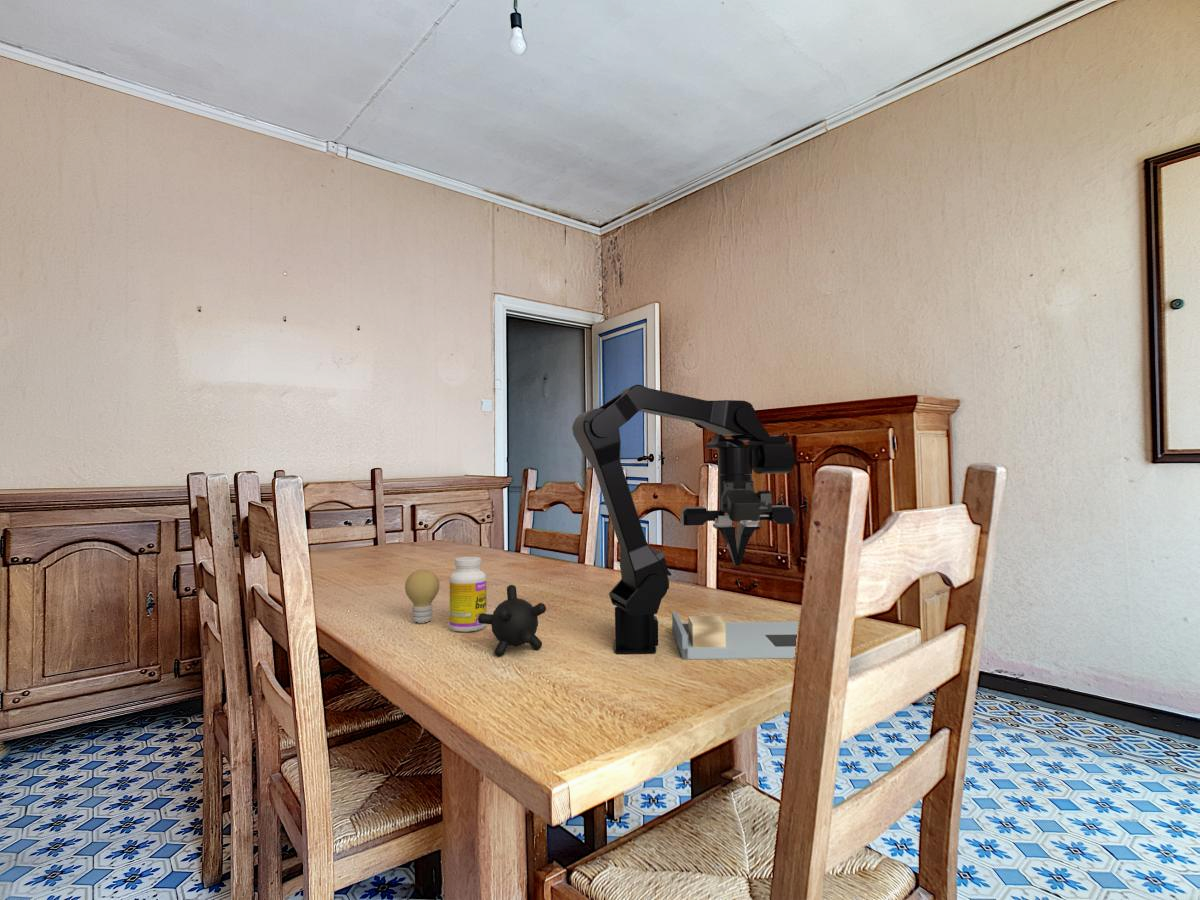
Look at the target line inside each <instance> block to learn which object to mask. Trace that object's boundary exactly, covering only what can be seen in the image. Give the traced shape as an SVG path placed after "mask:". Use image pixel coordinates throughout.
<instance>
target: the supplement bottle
mask: <svg viewBox="0 0 1200 900" xmlns="http://www.w3.org/2000/svg"><path fill="white" fill-rule="evenodd" d="M454 565H455V571H454V572H452V574H450V576H449V628H450V630H451V629H452V631H453V630H455V631H475V632H477V631H476V630H479V631H481V630H480V629H482V630H483V629H485V628H486V626H487V624H481V623H479V622H478V616H479V615H480V614H488V612H487V610H488V608H487V574H486V573H485V572H484V571H482V570H480V569H481V568H480V567H481V565H482V558H481V557H480V556H462V557H456V558H455V559H454ZM455 631H454V632H455Z"/></svg>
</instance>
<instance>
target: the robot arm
mask: <svg viewBox="0 0 1200 900" xmlns="http://www.w3.org/2000/svg"><path fill="white" fill-rule="evenodd" d="M639 412H640V413H645V414H649V415H650V414H651V415H656V416H659V417H660V416H661V417H663V418H664V417H665V418H668V419H669V418H670V419H674V420H679V421H684V422H689V423H694V424H696V425H699V426H702V427H703V428H705V429H706V430H708V431H710V432H712V433H714V434H715V433H716V434H715V435H713V438H711V440H710V441H709V442H708V443H707V444H706V445H705V447H706V449H714V450H716V449H717V461H718V462H717V463H718V465H717V466H718V467H717V469H718V471H717V473H718V476H717V477H718V478H717V479H718V484H717V485H718V510H716V509H715V510H710V509H709V510H707V508H706V507H705V506H683V507H682V508H681V509H680V510H679V521H680V522H679V523H681V524H682V525H683V526H704V524H706V523H707V522H713V523H712V527H713V528H714V529H715V530H718V531H720V533H721V535H722V538H723V539H724V541H725V544H726V547H727V549H728V551H729V554H730V557H731V561H732V562H733V566H735V567H740V566H741V564H742V561H743V558H744V554H745V551H746V548H747V546H748V543H749V541H750V538H751V537H752V535H753V534H754V532H755V531H756V530H761V528H762V526H761V525H759V523H760V521H768V522H774V523H776V525H793V524H796V512H795V510H794V508H792V507H791V506H788V505H785V504H781V505H778V504H777V505H775V504H774V505H773V497H772V496H773V495H772V492H771V490H768V489H765V490H758V491H757V492H756V491H755V483H754V480H753V472H754V473H755V474H758V475H771V474H772V475H773V474H774V475H775V474H789V473H790V472H792V471H793V469H794V467H795V463H796V453H795V452H794V449H793V446H792V445H791V443H789V442H788V435H787V434H784V435H783V434H780V435H779V434H778V435H770V434H769V432H768V431H767V430H766V428H765V427H764V425H763V424H762V422H761V421H760V419H759V418H758V416H757V412H756V409H755V408H754V406H753V404H752V403H751V402H749V401H746V400H734V399H730V400H729V399H724V400H706V399H701V398H696V397H692V396H687V395H683V394H677V393H673V392H669V391H664V390H661V389H660V390H659V389H656V388H655V389H654V388H650V387H646V386H645V385H642V384H635V385H631V386H629V387H627V388H625V389H624V390H622V391H621V392H620V393H619V394H618V395H617V396H615V397H613V398H612V399H610V400H609V401H607V402H606V403H604V404H603V405H601V406H600V407H598V408H597V407H596V408H593V409H589V410H587V411H584V412H582V413H580V414H579V415H577V417H576V418H575V419H574V421H573V424H572V428H571V430H572V435H573V437H574V439H575V440H576V443H577V444H578V446H579V448H580V451H581V452H582V454H583V455H584V456H585V457H586V459H587V461H588V462H589V463H590V465H591V466H592V468H593V470H594V473H595V475H596V479H597V481H598V482H597V483H598V485H599V488H600V490H601V494H602V497H603V500H604V503H605V507H606V509H607V513H608V515H609V517H610V518H609V519H610V521H611V524H612V528H613V531H614V533H615V536H616V539H617V542H618V546H619V550H620V551H619V552H620V553H619V568H620V570H619V571H620V575H621V579H620V580H619V581H618V582H617V583H616V584H615V586H614V587H613V588H612V589H611V590H610V591H609V593H608V596H609V599H610V601H611V604H612V605H613V606H615V607H614V631H615V632H614V636H615V637H614V638H615V639H614V653H615V654H651V653H652V654H653V653H654V654H656V653H657V647H658V646H659V620H658V617H657V616H656V614H658V613H659V609H660V606H661V602H662V599H664V597H665V596H666V594H667V593H668V590H669V588H670V579H669V576H671V577H672V573H671V571H669V569H668V567H667V563H666V556H665V553H664V551H662V550H659V549H657V548H653V547H650V545H649V544H648V542H647V539H646V536H645V532H644V529H643V527H642V524H641V520H640V517H639V515H638V514H639V513H638V511H637V507H636V504H635V502H634V499H633V495H632V493H631V490H630V486H629V484H628V480H627V477H626V474H625V472H624V467H623V465H622V461H621V447H622V446H621V444H622V440H621V437H620V436H621V435H620V428H621V427H622V426H623V425H625V424H626V423H627V422H629V421H630V420H631V419H632V418H633V417H634V416H635V415H636V414H637V413H639ZM726 437H729V438H726ZM745 442H748V444H745ZM733 522H737V523H736V526H734V525H733ZM739 522H740V523H739Z"/></svg>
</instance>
